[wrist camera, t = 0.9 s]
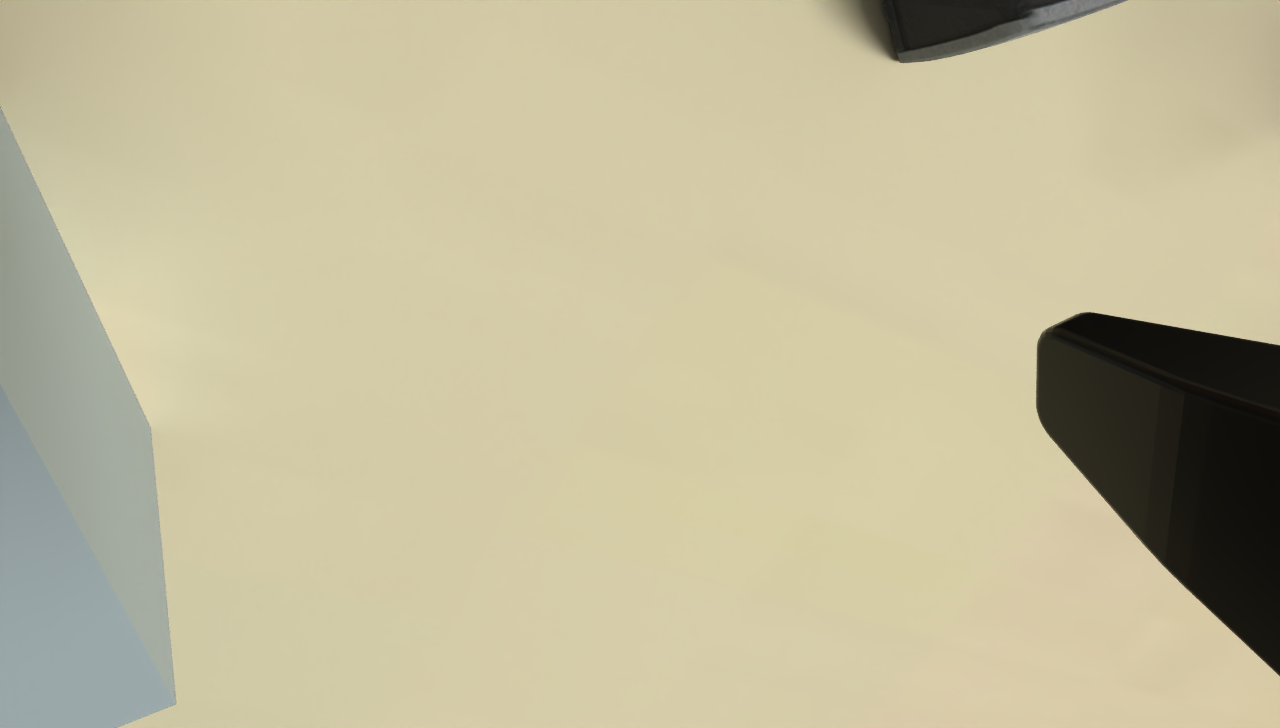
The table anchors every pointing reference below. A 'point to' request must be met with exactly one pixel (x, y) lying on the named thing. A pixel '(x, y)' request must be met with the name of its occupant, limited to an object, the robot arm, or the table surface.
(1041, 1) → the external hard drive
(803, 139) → the table surface
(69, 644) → the block
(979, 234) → the table surface
